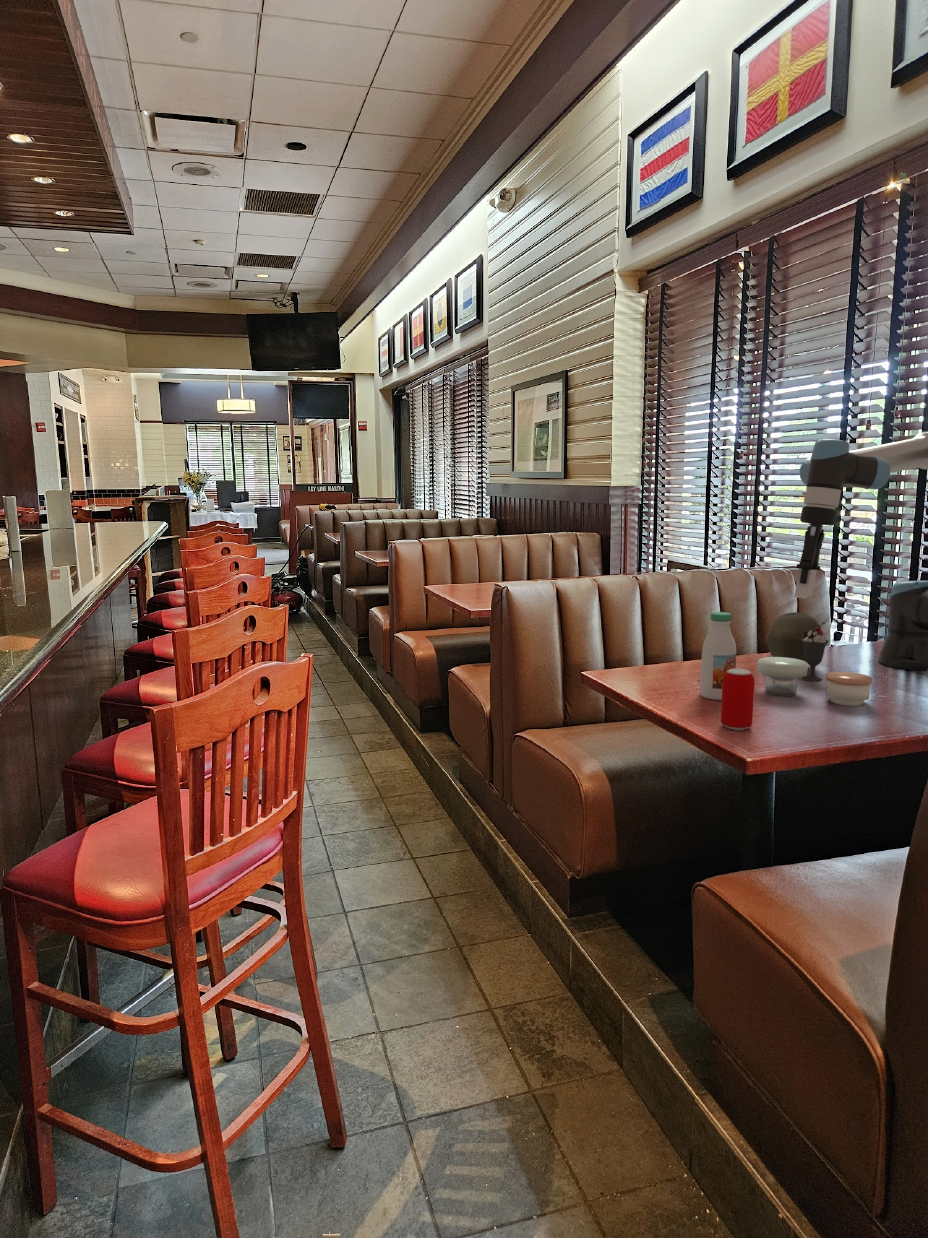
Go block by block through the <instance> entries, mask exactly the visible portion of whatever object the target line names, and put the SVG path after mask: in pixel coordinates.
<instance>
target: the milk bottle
mask: <svg viewBox="0 0 928 1238" xmlns="http://www.w3.org/2000/svg"><path fill="white" fill-rule="evenodd" d="M709 622H710V623H711V625H710V627H709V631H708V633H707V635H706V637H705V639H704V642H703V644H702V652H701V664H700V665H701V668H700V686H699V687H700V688H699V689H700V690H699V691H700V692H699V693H700V696H701V697H703V698H704V699H708V700H713V701H722V683H723V676H724V674H725V673H726V671H727V670H729V669H737V645H736V644H737V643H736V642H735V638H734V637H733V634H732V631H731V623H732V614H731V613H730V612H724V611H714V612H713V611H712V612H711V613H710V621H709Z"/></svg>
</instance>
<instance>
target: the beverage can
mask: <svg viewBox="0 0 928 1238" xmlns="http://www.w3.org/2000/svg"><path fill="white" fill-rule="evenodd" d="M755 681H756V680H755V677H754V675H753V672H752V671H750V670H748V669H743V668H736V669H729V670H727V671H726V673H725V674H724V676H723V683H722V700H721V707H720V723H721V725H722V726H724V727H725V728H727V729H728V728H730V729H729V730H731V729H733V731H746V730H747V729H749V728H751V727H752V725H753V715H754V713H753V712H754V695H755ZM746 727H747V728H746ZM745 729H746V730H745Z"/></svg>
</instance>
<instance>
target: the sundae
mask: <svg viewBox="0 0 928 1238" xmlns="http://www.w3.org/2000/svg"><path fill="white" fill-rule="evenodd" d="M825 624H826V622H822V623H821V624H819V625H820V626H819V627H820V628H819V627H817V628H816V629H814V630H811V631H809V632H807V631H804V638H802V639H800V640H801V641H803V647H804V658H805V661H806V662H807V663H808V666H810V668H809V673H808V674H807V675H806V676H804V677H801V679H802V680H803V681H807V682H813V681H818V682H822V681H823V678H822V677H819V676H817V675H816V667H817V666H818V665H819V664H821V663H822V661H823V658H824V655H825V649H826V645H827V644H829V643H830V641H829V639H827V638H826V636H825V635H824V631H823V630H822V627H823V626H824V625H825Z"/></svg>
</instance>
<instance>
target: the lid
mask: <svg viewBox="0 0 928 1238" xmlns="http://www.w3.org/2000/svg"><path fill="white" fill-rule="evenodd" d="M808 666H809V664H808V663H807V662H805V661H802V660H799V659H794V658H786V657H772V656H767V657H762V658H759V659H758V660H757V672H758V673H759V674H762V675H765V676H766V675H768V676H773V677H780V678H802V677H804V676H807V675H808V668H809V667H808Z"/></svg>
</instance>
